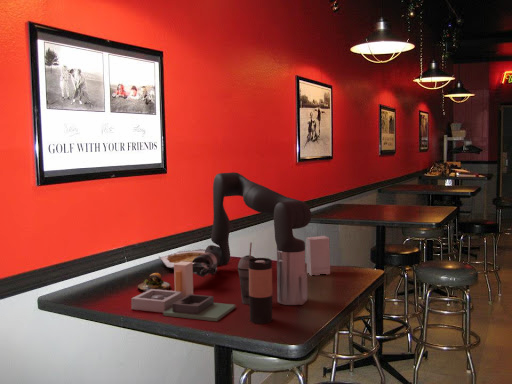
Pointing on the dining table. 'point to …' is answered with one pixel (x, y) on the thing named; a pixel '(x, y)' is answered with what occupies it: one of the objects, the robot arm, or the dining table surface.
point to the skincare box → (318, 255)
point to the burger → (154, 283)
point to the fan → (155, 300)
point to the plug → (183, 277)
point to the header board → (199, 308)
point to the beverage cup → (244, 276)
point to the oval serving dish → (181, 257)
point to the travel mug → (260, 290)
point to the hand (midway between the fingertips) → (190, 273)
